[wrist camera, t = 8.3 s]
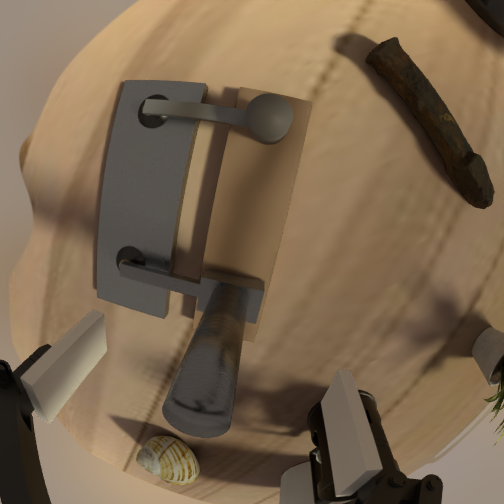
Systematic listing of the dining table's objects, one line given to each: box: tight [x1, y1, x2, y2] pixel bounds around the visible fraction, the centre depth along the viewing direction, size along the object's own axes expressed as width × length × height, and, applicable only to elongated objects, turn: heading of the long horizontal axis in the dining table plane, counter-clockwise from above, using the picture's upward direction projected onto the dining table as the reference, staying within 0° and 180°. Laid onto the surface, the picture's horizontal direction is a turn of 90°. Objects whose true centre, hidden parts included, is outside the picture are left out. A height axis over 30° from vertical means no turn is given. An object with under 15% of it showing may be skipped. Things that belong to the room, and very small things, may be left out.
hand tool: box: [366, 37, 495, 209], centre depth 18 cm, size 19×4×5 cm, turn 39°
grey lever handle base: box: [142, 87, 312, 342], centre depth 21 cm, size 14×22×6 cm, turn 168°
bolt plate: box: [97, 80, 208, 319], centre depth 23 cm, size 8×22×1 cm, turn 168°
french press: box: [307, 390, 400, 504], centre depth 19 cm, size 12×9×23 cm
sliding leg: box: [119, 259, 265, 438], centre depth 17 cm, size 13×3×14 cm, turn 78°
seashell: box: [136, 436, 200, 485], centre depth 31 cm, size 10×10×10 cm
